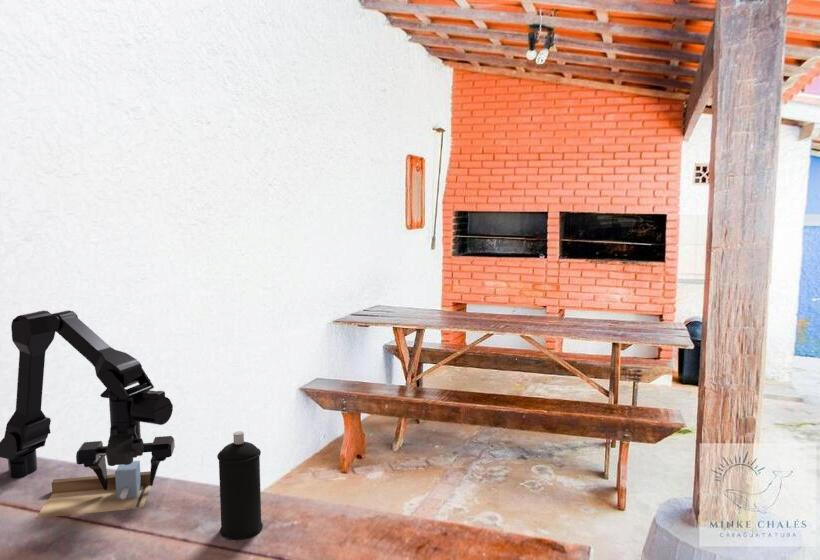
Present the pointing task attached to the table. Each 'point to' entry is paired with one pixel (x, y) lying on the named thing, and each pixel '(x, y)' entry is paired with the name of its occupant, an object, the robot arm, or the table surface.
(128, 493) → the block
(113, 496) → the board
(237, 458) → the aerosol can
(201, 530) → the table surface
